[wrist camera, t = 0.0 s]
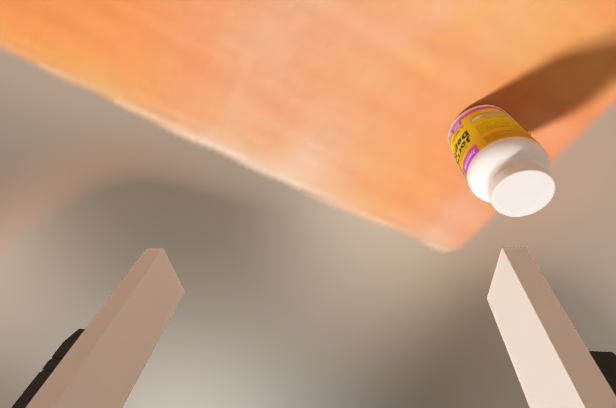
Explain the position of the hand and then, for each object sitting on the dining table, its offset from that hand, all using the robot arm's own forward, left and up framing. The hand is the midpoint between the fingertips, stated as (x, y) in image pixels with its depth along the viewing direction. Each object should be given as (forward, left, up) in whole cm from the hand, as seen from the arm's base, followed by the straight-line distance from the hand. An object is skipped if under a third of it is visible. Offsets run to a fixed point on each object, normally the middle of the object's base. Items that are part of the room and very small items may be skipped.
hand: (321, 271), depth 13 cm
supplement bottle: (+7, +15, -28) cm, 33 cm away
